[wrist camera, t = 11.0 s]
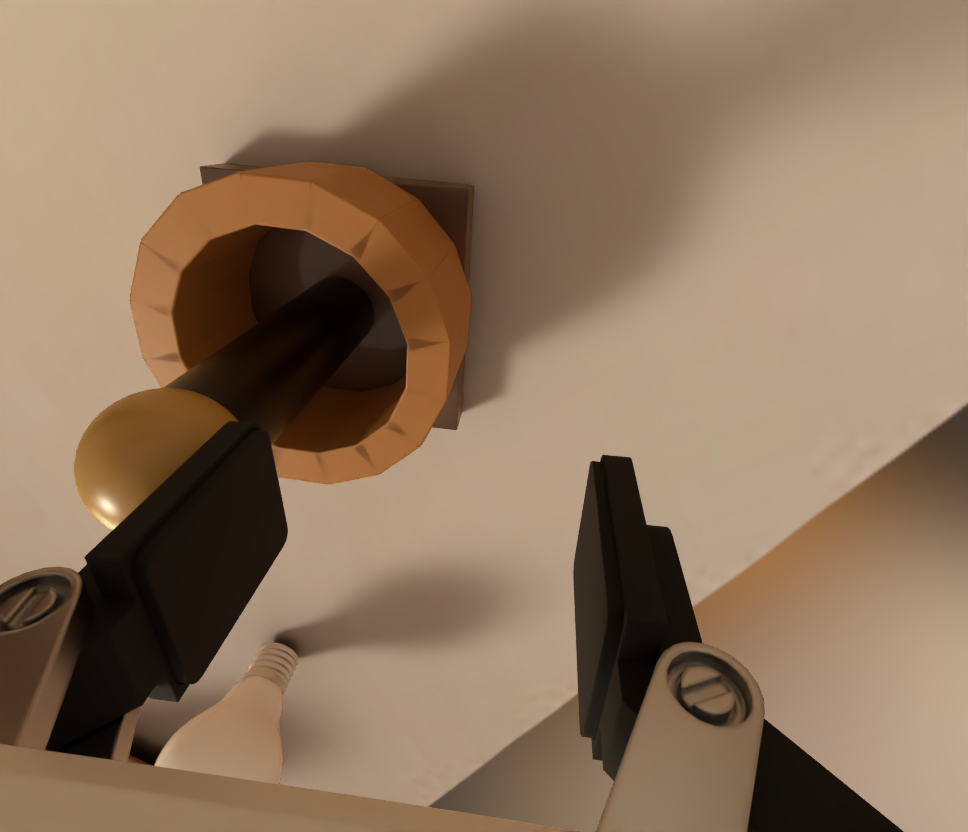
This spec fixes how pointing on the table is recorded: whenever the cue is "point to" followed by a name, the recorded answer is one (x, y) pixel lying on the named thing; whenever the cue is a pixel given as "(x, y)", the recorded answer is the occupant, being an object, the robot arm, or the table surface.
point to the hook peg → (220, 397)
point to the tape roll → (228, 313)
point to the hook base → (308, 259)
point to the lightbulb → (239, 724)
